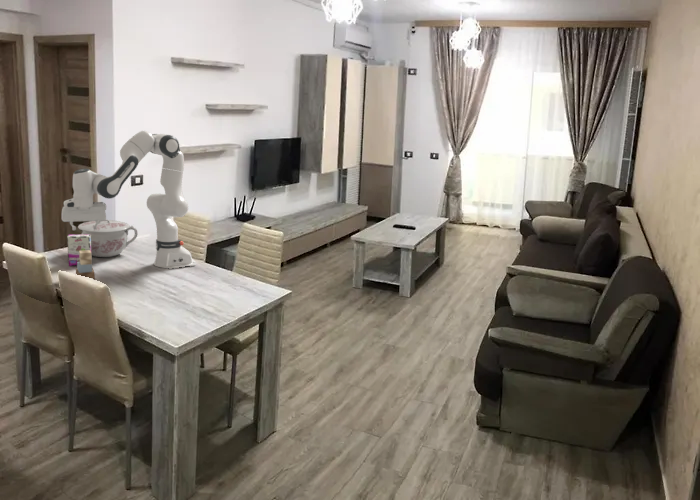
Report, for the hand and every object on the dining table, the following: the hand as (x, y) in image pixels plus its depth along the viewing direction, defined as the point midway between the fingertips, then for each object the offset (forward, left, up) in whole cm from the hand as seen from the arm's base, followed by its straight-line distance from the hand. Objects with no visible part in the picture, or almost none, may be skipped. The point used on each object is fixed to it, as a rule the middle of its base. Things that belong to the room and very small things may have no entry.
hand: (84, 229), depth 302 cm
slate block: (+1, 0, -21) cm, 21 cm away
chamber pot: (-13, -40, -25) cm, 49 cm away
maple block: (0, 0, -17) cm, 17 cm away
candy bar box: (+1, -23, -25) cm, 34 cm away
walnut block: (+1, 0, -25) cm, 25 cm away
